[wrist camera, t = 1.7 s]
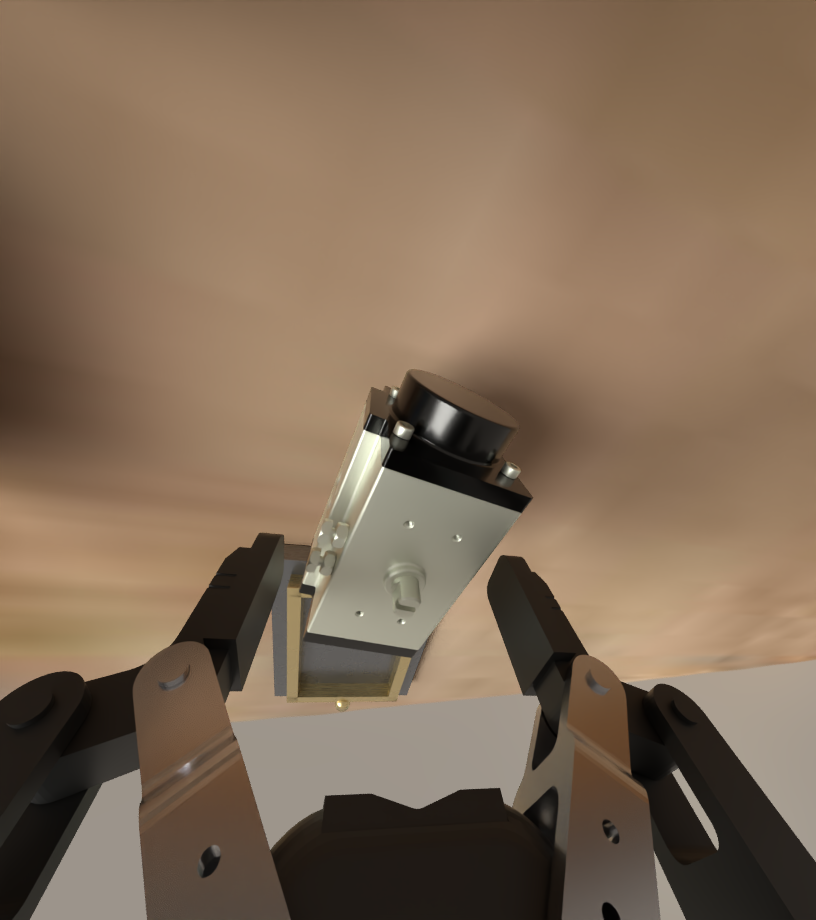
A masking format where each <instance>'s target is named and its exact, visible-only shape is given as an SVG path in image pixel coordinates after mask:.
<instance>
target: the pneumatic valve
mask: <svg viewBox="0 0 816 920" xmlns="http://www.w3.org/2000/svg"><path fill="white" fill-rule="evenodd" d="M519 429H520V426H519V423H518V422H517V421H516V420H515V419H514V418H513V417H512V416H511V415H510V414H508V413H507V412H506V411H504V410H503V409H502V408H500V407H499V406H497V405H495V404H494V403H492V402H491V401H489V400H487V399H485V398H484V397H482V396H480V395H478V394H476V393H475V392H473V391H471V390H469V389H467V388H465V387H463V386H461V385H459V384H456V383H454V382H452V381H450V380H447V379H445V378H443V377H440V376H437V375H435V374H432V373H429V372H426V371H422V370H417V369H411V370H409V371H407V373H406V375H405V377H404V380H403V382H402V384H401V387H400V388H398V387H395V386H393V387H392V388H390V387H388V386H385V388H384V390H383V391H381V390H378V389H376V388H373V387H371V390H370V393H369V395H368V398H367V400H366V403H365V406H364V408H363V411H362V413H361V416H360V419H359V421H358V424H357V426H356V429H355V432H354V434H353V437H352V439H351V442H350V445H349V447H348V450H347V452H346V455H345V458H344V460H343V463H342V465H341V468H340V471H339V473H338V476H337V478H336V481H335V484H334V486H333V489H332V491H331V494H330V497H329V499H328V502H327V504H326V507H325V510H324V512H323V515H322V517H321V520H320V523H319V525H318V528H317V530H316V533H315V536H314V538H313V541H312V544H311V548H310V551H309V555H308V559H307V562H306V566H305V570H304V573H303V577H302V581H301V584H300V588H299V592H300V593H303V594H308V595H311V596H312V599H311V604H310V608H309V613H308V617H307V622H306V626H305V631H304V635H303V641H305V642H311V643H317V644H324V645H330V646H337V647H343V648H350V649H356V650H363V651H369V652H376V653H382V654H389V655H395V656H402V657H408V658H413V657H414V655H415V654H416V653H417V651H418V650H419V649H420V647H421V646H422V645H423V643H424V642H425V641H426V639H427V638H428V637H429V635H430V634H431V633H432V631H433V630H434V629H435V627H436V626H437V625H438V623H439V622H440V621H441V619H442V618H443V617H444V615H445V614H446V613H447V611H448V610H449V609H450V608H451V606H452V605H453V604H454V602H455V601H456V600H457V598H458V597H459V596H460V594H461V593H462V592H463V590H464V589H465V588H466V586H467V585H468V584H469V582H470V581H471V580H472V578H473V577H474V576H475V574H476V573H477V572H478V570H479V569H480V568H481V566H482V565H483V564H484V562H485V561H486V560H487V558H488V557H489V556H490V555H491V553H492V552H493V551H494V549H495V548H496V547H497V545H498V544H499V543H500V541H501V540H502V539H503V537H504V536H505V535H506V533H507V532H508V531H509V529H510V528H511V527H512V525H513V524H514V523H515V521H516V520H517V519H518V517H519V516H520V515H521V513H522V512H523V511H524V509H525V508H526V507H527V506H528V504H529V503H530V502H531V500H532V499H533V497H532V495H531V494H530V493H529V492H528V490H527V489H526V488H525V486H524V485H523V484H522V482H521V481H520V480H519V479H518V477H517V476H518V475H519V474H520V472H521V469H520V468H519V467H518V466H517V465H515V464H513V463H511V462H505V460H504V459H503V458H502V455H503V454H504V452H505V451H506V449H507V448H508V446H509V445H510V443H511V441H512V440H513V438H514V437H515V435H516V434H517V432H518V431H519Z"/></svg>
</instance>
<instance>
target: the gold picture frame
mask: <svg viewBox="0 0 816 920" xmlns="http://www.w3.org/2000/svg"><path fill="white" fill-rule="evenodd" d="M310 548H311V546H300V545H287V544H284V570H283V576H282V580H281V584H280V587H279V589H278V592H277V595H276V598H275V601H274V603H273V606H272V630H273V658H274V687H275V696H287V703H293V702H335V707H336V709H337V710H338V711H341V712H343V711H345V710H347V709H348V707H349V706H350V702H386V701H397V698H398V695H407V693H408V690H409V687H410V685H411V682H412V679H413V677H414V674H415V671H416V669H417V666H418V663H419V661H420V658H421V655H422V652H423V650H424V647H425V644H426V642H427V639H428V638H427V639H426V641H425V642H424V643H423V645H422V646H421V647H420V649H419V650H418V651H417V653H416V654H415V655H414V657H413V658H408V657H402V656H395V655H389V654H382V653H376V652H369V651H363V650H356V649H350V648H343V647H337V646H330V645H324V644H317V643H311V642H305V641H303V635H304V631H305V626H306V622H307V617H308V613H309V608H310V604H311V599H312V596H311V595H308V594H303V593H300V592H299V588H300V584H301V581H302V577H303V573H304V570H305V566H306V562H307V559H308V555H309V551H310Z"/></svg>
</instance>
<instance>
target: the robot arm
mask: <svg viewBox="0 0 816 920" xmlns="http://www.w3.org/2000/svg"><path fill="white" fill-rule="evenodd" d="M283 570H284V535H281V534H270V533H259V534H258V536H257V538H256V540H255V541H254V543H253V545H252V547H251V548H244V547H239V548H238V549H237V550H235V551H234V552H233V553H232V554H230V555H229V556H228V557H227V558H225V560H224V562H223V563H222V565H221V566H220V568H219V570H218V571H217V573H216V576H214V578H213V579H212V581H211V583H210V584H209V588H207V589H206V591H205V593H204V594H203V596H202V597H201V599H200V601H199V602H198V604H197V606H196V607H195V609H194V610H193V612H192V614H191V615H190V617H189V619H188V620H187V622H186V624H185V625H184V627H183V628H182V630H181V632H180V633H179V635H178V636H177V638H176V639H175V641H174V642H173V643H172V644H171V645H170V646H169V647H167V648H165V649H163V650H162V651H160V652H159V653H157V654H156V655H155V656H153V657H152V658H151V659H150V660H149V661H148V662H147V663H146V664H144V665H141V666H139V667H137V668H134V669H131V670H128V671H124V672H120V673H117V674H113V675H109V676H106V677H102V678H98V679H94V680H91V681H87V682H85V681H84V680H83V678H82V677H81V676H80V675H79V674H77V673H74V672H67V671H63V672H55V673H51V674H47V675H44V676H41V677H39V678H37V679H34V680H32V681H30V682H28V683H26V684H24V685H22V686H21V687H19V688H17V689H16V690H14V691H13V692H11V693H10V694H8V695H7V696H6V697H4V698H3V699H2V700H1V701H0V920H30V918H31V916H32V914H33V912H34V911H35V909H36V907H37V905H38V903H39V901H40V899H41V897H42V896H43V894H44V892H45V890H46V888H47V886H48V884H49V882H50V881H51V879H52V877H53V875H54V873H55V871H56V869H57V867H58V866H59V864H60V862H61V860H62V858H63V856H64V854H65V853H66V850H67V849H68V847H69V845H70V843H71V841H72V839H73V838H74V836H75V834H76V832H77V830H78V828H79V826H80V824H81V822H82V820H83V819H84V817H85V815H86V813H87V811H88V809H89V808H90V806H91V804H92V802H93V800H94V798H95V796H96V794H97V793H98V791H99V789H100V787H101V785H102V783H103V782H106V781H109V780H111V779H114V778H117V777H119V776H122V775H124V774H127V773H129V772H132V771H134V770H137V769H140V775H141V785H142V801H141V803H140V806H139V831H140V844H141V856H142V867H143V879H144V890H145V901H146V914H147V920H660V910H659V900H658V889H657V879H656V869H655V859H654V852H655V854H656V856H657V858H658V860H659V862H660V864H661V867H662V869H663V871H664V873H665V875H666V877H667V880H668V882H669V884H670V886H671V888H672V890H673V892H674V894H675V897H676V899H677V901H678V903H679V905H680V907H681V910H682V912H683V914H684V916H685V918H686V920H816V862H815V860H814V859H813V858H812V856H811V855H810V854H809V853H808V851H807V850H806V848H805V847H804V846H803V845H802V843H801V842H800V840H799V839H798V838H797V836H796V835H795V834H794V832H793V831H792V830H791V828H790V827H789V826H788V824H787V823H786V822H785V820H784V819H783V818H782V816H781V815H780V814H779V812H778V811H777V810H776V808H775V807H774V806H773V804H772V803H771V802H770V800H769V799H768V798H767V796H766V795H765V794H764V792H763V791H762V790H761V788H760V787H759V786H758V784H757V783H756V782H755V780H754V779H753V778H752V776H751V775H750V774H749V772H748V771H747V769H746V768H745V767H744V765H743V764H742V763H741V762H740V760H739V759H738V757H737V756H736V755H735V753H734V752H733V751H732V750H731V748H730V747H729V745H728V744H727V743H726V741H725V740H724V739H723V737H722V736H721V735H720V734H719V732H718V731H717V729H716V728H715V727H714V725H713V724H712V723H711V721H710V720H709V719H708V717H707V716H706V715H705V713H704V712H703V711H702V710H701V709H700V707H699V706H698V705H697V704H696V703H695V702H694V701H693V700H692V699H690V698H689V697H688V696H687V695H685V694H684V693H683V692H681V691H680V690H678V689H676V688H674V687H672V686H670V685H666V684H658V685H656V686H655V687H654V688H653V689H652V690H651V691H649V692H647V691H645V690H642V689H640V688H637V687H634V686H632V685H629V684H626V683H624V682H621V681H620V680H619V679H618V677H617V676H616V675H615V674H614V672H613V671H612V670H611V669H610V668H609V667H608V666H606V665H605V664H604V663H603V662H601V661H600V660H598V659H596V658H594V657H592V656H589V655H588V653H587V652H586V650H585V648H584V647H583V645H582V643H581V641H580V640H579V638H578V636H577V635H576V633H575V631H574V630H573V628H572V626H571V624H570V623H569V621H568V619H567V618H566V616H565V614H564V613H563V611H561V609H560V606H559V604H558V602H557V601H556V600H555V599H554V596H553V594H552V592H551V591H550V589H549V587H548V585H547V584H546V583H545V582H544V581H543V580H542V579H541V578H540V577H539V576H538V575H537V574H536V573H535V572H531V570H530V568H529V567H528V565H527V563H526V561H525V560H524V559H523V558H522V557H517V556H506V555H502V556H500V558H499V559H498V562H497V564H496V566H495V568H494V571H493V573H492V575H491V577H490V579H489V582H488V586H487V594H488V599H489V602H490V605H491V608H492V610H493V613H494V616H495V619H496V621H497V624H498V627H499V630H500V632H501V635H502V638H503V641H504V643H505V646H506V649H507V652H508V655H509V657H510V660H511V663H512V666H513V668H514V671H515V674H516V677H517V679H518V682H519V685H520V688H521V690H522V693H523V695H526V696H529V695H530V696H537V697H538V700H539V702H540V704H539V706H538V708H537V711H536V716H535V721H534V727H533V733H532V737H531V743H530V748H529V753H528V758H527V764H526V769H525V773H524V777H523V779H522V782H521V784H520V786H519V789H518V791H517V793H516V797H515V799H514V803H513V806H512V807H510V806H508V805H506V804H504V802H503V798H502V794H501V790H500V788H489V789H467V790H459V791H457V792H455V793H452V794H451V795H448V796H447V797H444V798H442V799H440V800H438V801H436V802H434V803H432V804H430V805H428V806H426V807H424V808H421V809H414V808H411V807H408V806H405V805H402V804H399V803H396V802H394V801H391V800H388V799H385V798H382V797H379V796H376V795H373V794H354V795H331V796H325V800H324V805H323V809H322V810H320V811H317V812H315V813H313V814H311V815H309V816H308V817H306V818H304V819H303V820H301V821H300V822H298V823H297V824H296V825H295V826H294V827H292V828H291V829H290V830H289V831H288V832H287V833H286V834H285V835H284V836H283V837H282V838H281V839H280V840H279V841H278V842H277V843H276V844H275V845H274V846H273V847H272V849H271V850H270V848H269V845H268V841H267V838H266V834H265V831H264V828H263V824H262V821H261V818H260V814H259V811H258V808H257V804H256V801H255V797H254V794H253V791H252V787H251V784H250V781H249V777H248V774H247V771H246V767H245V764H244V761H243V758H242V754H241V751H240V748H239V745H238V742H237V739H236V737H235V736H234V733H233V730H232V727H231V723H230V720H229V717H228V713H227V710H226V706H225V702H226V700H227V697H228V695H229V692H230V691H242V689H243V686H244V684H245V681H246V678H247V675H248V673H249V670H250V667H251V664H252V661H253V659H254V656H255V653H256V650H257V648H258V645H259V642H260V639H261V637H262V634H263V631H264V628H265V625H266V623H267V620H268V617H269V614H270V612H271V609H272V606H273V603H274V601H275V598H276V595H277V592H278V589H279V587H280V584H281V580H282V576H283ZM678 768H679V769H680V771H681V773H682V775H683V776H684V778H685V780H686V781H687V783H688V784H689V786H690V788H691V789H692V791H693V793H694V794H695V796H696V798H697V799H698V801H699V803H700V804H701V806H702V808H703V809H704V811H705V813H706V814H707V816H708V818H709V819H710V821H711V823H712V824H713V827H714V829H715V831H716V833H717V837H718V841H719V849H718V851H717V850H716V848H715V846H714V845H713V843H712V841H711V839H710V838H709V836H708V834H707V833H706V831H705V829H704V828H703V826H702V824H701V822H700V821H699V819H698V817H697V815H696V814H695V812H694V810H693V808H692V807H691V805H690V803H689V802H688V800H687V798H686V796H685V795H684V793H683V791H682V790H681V788H680V786H679V784H678V783H677V781H676V779H675V777H674V776H673V774H672V772H673V771H675V770H676V769H678Z"/></svg>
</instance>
